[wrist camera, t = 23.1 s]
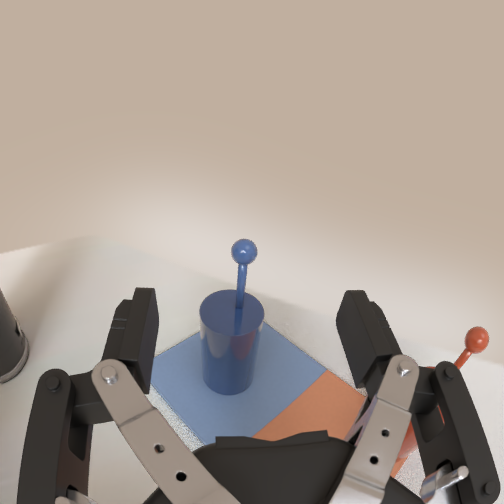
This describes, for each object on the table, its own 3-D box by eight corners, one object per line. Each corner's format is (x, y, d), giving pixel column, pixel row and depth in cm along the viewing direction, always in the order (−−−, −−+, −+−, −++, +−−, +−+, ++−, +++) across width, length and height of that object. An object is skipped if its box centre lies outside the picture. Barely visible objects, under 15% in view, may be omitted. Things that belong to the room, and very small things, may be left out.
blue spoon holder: (227, 405, 30) (235, 280, 20) (191, 371, 33) (182, 241, 23) (264, 375, 33) (290, 248, 24) (229, 346, 36) (237, 218, 27)
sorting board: (331, 550, 17) (334, 550, 17) (140, 369, 33) (139, 365, 32) (417, 437, 27) (421, 434, 27) (243, 309, 43) (243, 305, 42)
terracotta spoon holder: (395, 473, 23) (503, 382, 14) (354, 445, 26) (440, 341, 17) (419, 435, 27) (513, 334, 17) (381, 410, 30) (459, 299, 20)
